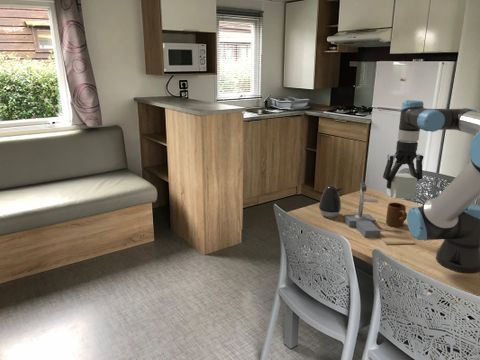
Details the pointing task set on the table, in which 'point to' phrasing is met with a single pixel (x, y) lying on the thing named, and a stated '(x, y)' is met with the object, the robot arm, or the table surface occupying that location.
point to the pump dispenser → (330, 202)
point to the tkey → (362, 200)
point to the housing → (363, 224)
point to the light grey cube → (404, 186)
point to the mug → (396, 214)
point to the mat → (395, 238)
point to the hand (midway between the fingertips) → (400, 195)
